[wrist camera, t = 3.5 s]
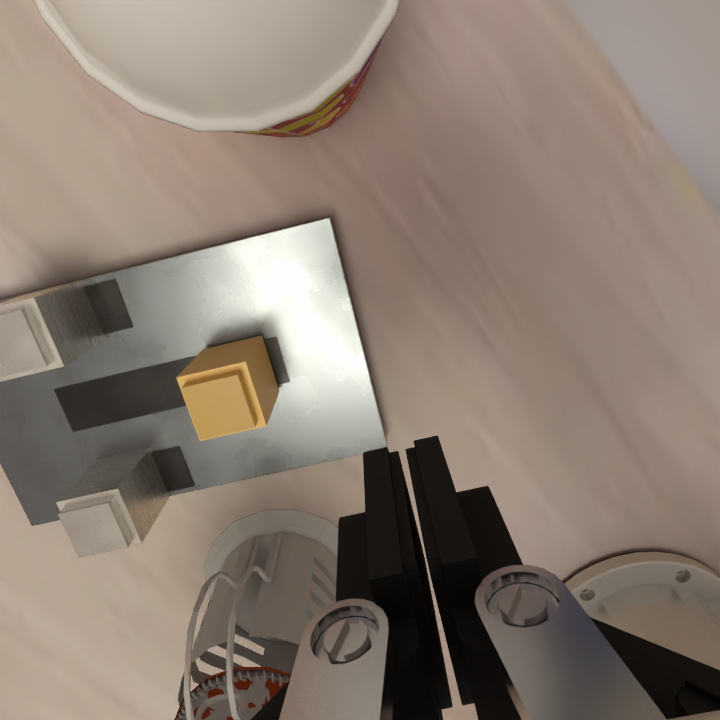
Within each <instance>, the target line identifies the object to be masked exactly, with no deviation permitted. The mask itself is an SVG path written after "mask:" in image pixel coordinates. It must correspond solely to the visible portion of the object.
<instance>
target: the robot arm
mask: <svg viewBox="0 0 720 720" xmlns="http://www.w3.org/2000/svg"><path fill="white" fill-rule="evenodd" d="M414 445H415V447H414V448H409V449H406V454H407V459H408V464H409V470H410V475H411V480H412V485H413V490H414V495H415V500H416V506H417V511H418V516H419V521H420V526H421V531H422V536H423V542H424V547H425V552H426V557H427V562H428V566H429V571H430V575H431V580H432V584H433V588H434V592H435V596H436V600H437V604H438V608H439V612H440V616H441V620H442V625H443V629H444V633H445V637H446V641H447V645H448V649H449V653H450V657H451V661H452V665H453V669H454V673H455V677H456V682H457V686H458V690H459V694H460V698H461V702H462V705H466V704H472V703H475V707H476V711H477V715H478V720H720V577H719V576H718V575H717V574H716V573H715V572H713V571H712V570H711V569H710V568H708V567H707V566H705V565H703V564H701V563H699V562H697V561H695V560H693V559H690V558H687V557H684V556H680V555H677V554H671V553H663V552H638V553H631V554H626V555H621V556H616V557H613V558H610V559H607V560H605V561H602V562H599V563H596V564H594V565H592V566H590V567H589V568H587V569H585V570H583V571H581V572H579V573H578V574H576V575H575V576H574V577H572V578H571V579H570V580H568V581H567V582H566V583H565V584H564V583H563V582H562V581H561V580H560V579H559V578H558V577H557V576H556V575H554V574H552V573H551V572H549V571H547V570H545V569H543V568H539V567H535V566H531V565H523V564H522V562H521V559H520V557H519V555H518V552H517V550H516V548H515V546H514V543H513V541H512V539H511V536H510V534H509V532H508V529H507V527H506V525H505V523H504V520H503V518H502V516H501V513H500V511H499V509H498V507H497V504H496V502H495V500H494V497H493V495H492V493H491V491H490V489H489V487H488V486H484V487H480V488H475V489H470V490H466V491H461V492H456V490H455V487H454V484H453V481H452V478H451V475H450V472H449V469H448V466H447V463H446V460H445V457H444V454H443V450H442V447H441V444H440V441H439V438H438V436H433V437H429V438H424V439H420V440H415V441H414ZM363 463H364V488H365V512H364V513H359V514H354V515H350V516H345V517H340V519H339V524H338V551H337V577H336V603H333V604H331V605H329V606H327V607H325V608H324V609H323V610H321V611H320V612H319V613H317V614H316V615H315V616H314V617H313V618H312V620H311V621H310V622H309V623H308V625H307V626H306V629H305V631H304V633H303V635H302V638H301V642H300V645H299V649H298V653H297V656H296V660H295V663H294V667H293V671H292V674H291V678H290V680H289V681H288V682H287V683H286V684H285V685H284V686H283V687H282V688H281V689H280V690H279V691H278V692H277V693H276V694H275V695H274V696H273V697H272V698H271V699H270V700H269V701H268V702H267V703H266V704H265V705H264V706H263V707H262V708H261V710H260V711H259V712H258V713H257V714H256V715H255V716H254V717H253V718H252V719H251V720H443V716H442V710H441V709H445V708H451V707H452V700H451V695H450V690H449V684H448V679H447V674H446V669H445V663H444V658H443V653H442V647H441V642H440V637H439V631H438V626H437V621H436V616H435V610H434V605H433V600H432V594H431V589H430V584H429V579H428V573H427V568H426V563H425V558H424V554H423V550H422V546H421V541H420V537H419V533H418V529H417V525H416V521H415V517H414V513H413V509H412V505H411V501H410V497H409V493H408V489H407V485H406V481H405V477H404V473H403V469H402V465H401V460H400V456H399V453H398V451H396V452H391V453H389V451H388V448H387V447H384V448H379V449H375V450H370V451H366V452H363Z"/></svg>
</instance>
